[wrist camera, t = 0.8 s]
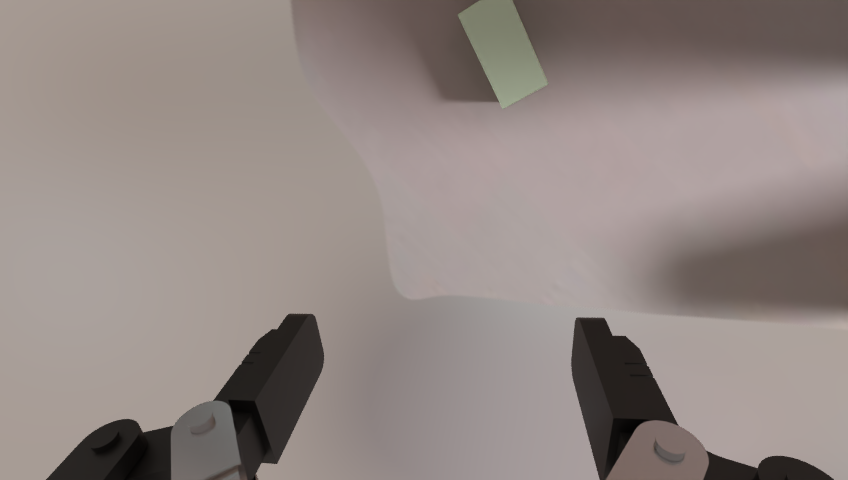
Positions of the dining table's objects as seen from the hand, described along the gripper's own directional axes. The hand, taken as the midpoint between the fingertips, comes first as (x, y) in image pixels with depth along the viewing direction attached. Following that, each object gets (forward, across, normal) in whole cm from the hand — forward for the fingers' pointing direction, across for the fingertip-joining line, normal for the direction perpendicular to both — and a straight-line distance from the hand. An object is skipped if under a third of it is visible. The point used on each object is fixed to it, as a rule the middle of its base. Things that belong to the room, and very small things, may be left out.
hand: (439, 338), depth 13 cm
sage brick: (+20, -3, -8) cm, 22 cm away
